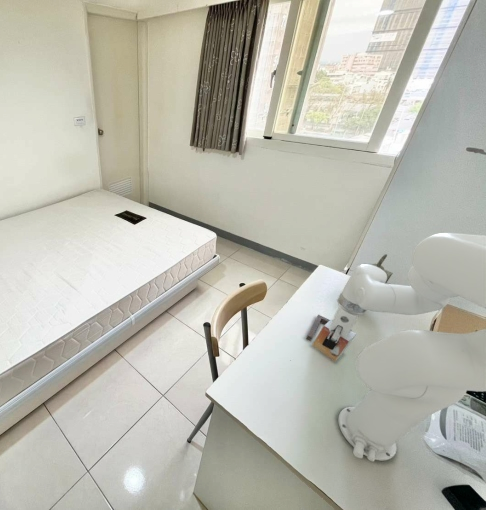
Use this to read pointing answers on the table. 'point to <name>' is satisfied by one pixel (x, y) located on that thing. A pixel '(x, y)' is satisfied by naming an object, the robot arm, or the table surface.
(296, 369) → the table surface
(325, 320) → the corner stop
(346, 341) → the small box
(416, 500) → the table surface
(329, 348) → the robot arm
